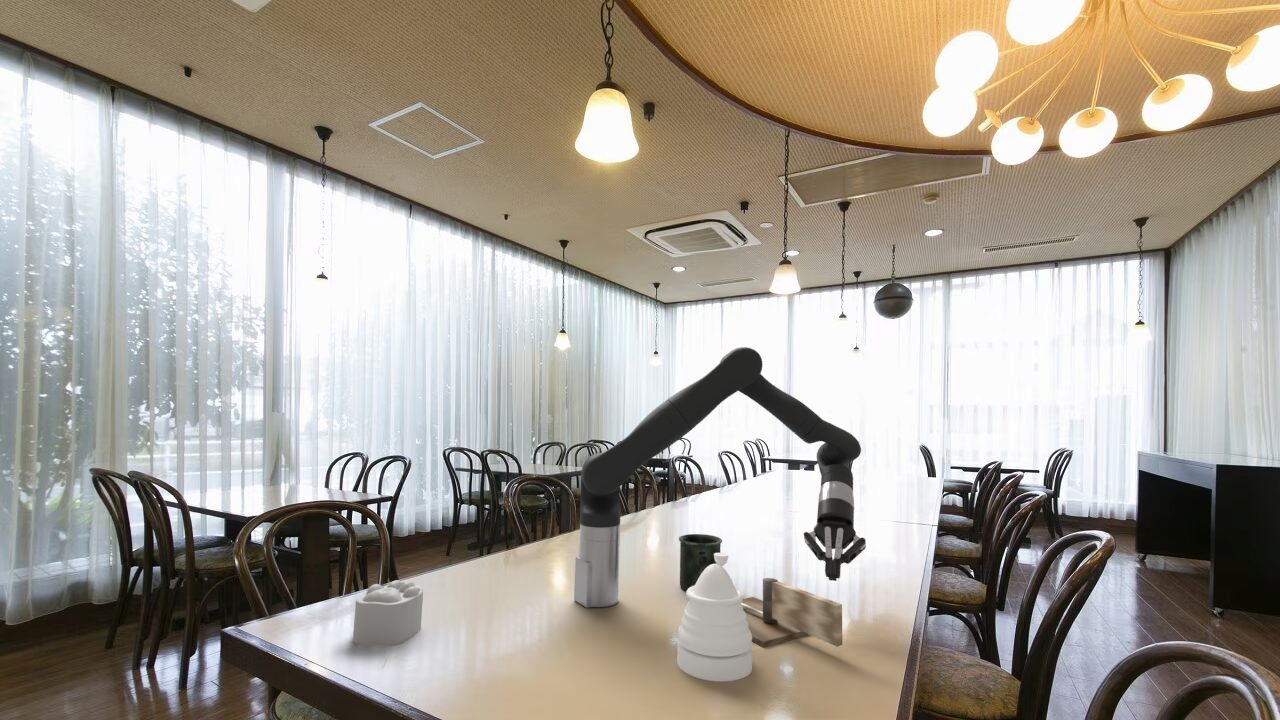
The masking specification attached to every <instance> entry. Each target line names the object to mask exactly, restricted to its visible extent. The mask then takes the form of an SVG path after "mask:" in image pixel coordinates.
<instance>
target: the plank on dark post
mask: <svg viewBox="0 0 1280 720" xmlns="http://www.w3.org/2000/svg"><path fill="white" fill-rule="evenodd" d="M762 601H763V612H762V611H759V610H757V609H755V608H753V607H750V606H748V605H746V604H743V603H741V604H742V607H743V608H745V609H747V610H749V611H751V612H754V613H756V614H758V615H760V616H763V621H764V622H766V623H777V622H778V621H779V622H782V623H784V624H786V625H789V626H791V627H793V628H795V629H798V630H800V631H802V632H804V633H807V634H809V635H808V636H811V637H813V638H816V639H818V640H820V641H823V642H825V643H827V644H829V645H832V646H834V647H840V646H843V604H842V603H839V602H836V601H834V600H832V599H828V598H825V597H823V596H819V595H817V594H814V593H812V592H809V591H806V590H804V589H801V588H797V587H794V586H791V585H789V584H786V583H783V582H781V581H779V580H778V579H776V578H772V577H764V578H762Z"/></svg>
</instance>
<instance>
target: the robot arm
mask: <svg viewBox="0 0 1280 720" xmlns="http://www.w3.org/2000/svg"><path fill="white" fill-rule="evenodd" d="M762 371H763V359H762V357H761V355H760V353H759V352H758V351H757V350H756V349H753V348H752V347H747V346H746V347H745V346H744V347H742V346H741V347H736V348H734V349H732V350H731V351H729V352H728V353H726V354H725V355H724V356H723V357H722V358H721V359H720V361H719V363H718V364H717V365H716V366H715V367H714V368H712V370H710V371H709V372H708V373H706V375H704V376H703V377H701V378H700V379H697V380H696V381H694V382H693V383H691V384H690V385H688V386H686V387H684V388H683V389H681V390H678V392H676V393H675V394H673V395H672V396H670V397H669V398H667V399H666V400H665V401H663V402H661V404H659V405H658V406H657V407H655V408H654V409H652V411H651V412H650V413H649V414H647V415H646V417H644V418H643V419H642V420H641V421H640V422H639V424H638V425H637V426H636V427H635V428H634V429H633V430H632V431H631V432H630V434H628V435H627V436H625V438H623V439H622V440H621V441H619V442H618V443H616V444H615V445H613V446H611V447H610V448H609V449H607V450H605V451H604V452H598V453H597V452H596V453H594V454H592V455H590V456H589V457H588V458H587V459H586V460H585V461H584V463H583V464H582V468H581V475H580V477H581V478H580V503H579V504H580V507H579V508H580V509H579V511H580V516H579V517H580V521H579V525H580V526H579V545H578V546H579V549H578V551H579V552H578V556H576V557H575V561H574V562H575V565H574V566H575V567H574V595H573V601H575V602H577V603H578V604H580V605H581V606H583V607H585V608H604V607H606V608H607V607H610V606H614V605H616V604H617V603H618V601H619V581H620V580H619V578H620V571H619V570H620V543H621V542H620V541H621V537H620V536H621V506H620V505H621V504H620V503H621V501H620V494H621V493H620V489H621V486H622V485H623V484H624V483H625V482H626V481H627V480H628V479H629V478H630V477H631V476H632V475H633V474H635V472H636V471H637V470H639V469H640V468H641V467H642V466H643V465H644V464H646V463H647V462H648V461H650V460H651V459H652V458H655V457H656V456H658V455H659V454H660V453H662V452H664V451H665V450H666V449H668V448H669V447H671V446H672V445H674V444H675V443H676V442H678V441H679V440H681V439H682V438H683V437H684V436H685V435H687V434H688V433H690V432H691V431H692V430H693V429H695V428H696V426H698V425H699V424H700V423H701V422H702V421H704V420H705V419H706V417H708V416H709V415H710V414H711V413H712V412H713V411H714V410H715V409H716V408H717V407H718V406H719V405H720V404H722V402H723V401H726V400H727V399H728V398H730V397H731V396H732V395H734V394H736V393H737V392H740V393H741V394H743V395H745V396H746V397H748V398H749V399H751V400H753V402H755V403H757V404H758V405H760V406H761V407H762V408H763V409H765V410H766V411H767V412H768V413H770V414H771V415H772V416H773V417H775V419H777V420H778V421H779V422H780V423H782V424H783V426H786V427H787V429H789V430H790V431H791V432H792V433H794V435H796V436H797V437H798V438H800V439H801V440H802V441H803V442H804V443H807V444H809V445H810V444H814V443H818V442H823V444H822V445H820V446H819V448H818V449H817V452H816V461H817V464H818V465H817V466H818V469H819V472H820V476H821V480H820V490H819V493H818V502H817V513H816V514H817V516H816V517H817V518H816V525H814V528H813V530H812V531H810V532H809V531H804V533H803V539H804V543H805V544H806V546H807V547H808V548H809V550H810V551H811V552H812V553H813V554H814V556H815V558H817V560H818V561H823V562H824V564H825V566H824V567H825V568H824V575H825V577H826V578H828V581H834V582H837V579H840V577H841V567H842V565H843V564H847V565H849V564H850V563H852V562H853V561H854V560H855V559H856V558H857V557H858V556H859V555H860V554H861V553H862V552H864V550H865V549H866V548H867V543H866V542H867V541H866V538H865V537H859V536H858V535H857V532H856V529H855V527H854V524H855V522H854V521H855V520H854V519H855V513H854V512H855V499H854V476H853V475H854V474H853V472H852V470H851V469H850V468H849V467H848V466H847V465H848V464H850V463H852V462H853V461H855V460H856V459H857V458H859V457H860V455H861V453H862V448H861V444H860V441H859V440H858V439H857V438H856V437H855V436H854V435H853V434H851V432H848V431H847V430H845V429H843V428H841V427H839V426H836V425H835V424H833V423H830V422H828V421H826V420H824V419H823V418H821V417H820V416H819V414H817V413H816V412H814V411H813V409H811V408H810V407H808V405H806V404H804V403H803V402H802V401H800V400H798V399H797V398H795V397H794V396H792V395H790V394H789V393H787V392H785V391H783V390H781V389H780V388H779V387H777V386H775V384H773V383H772V382H770V381H769V380H768V379H766V377H764V376H763V375H762ZM817 539H818V541H819V543H820V544H821V545H822V546H823V547H824V548H825V551H824V550H823V549H822V548H821V546H820V545H819V544H818V543H817ZM851 544H852V545H851ZM850 545H851V546H850ZM849 546H850V547H849ZM847 547H848V548H847ZM845 549H846V550H845ZM833 550H834V554H833ZM844 550H845V551H844ZM833 555H834V556H833Z"/></svg>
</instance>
